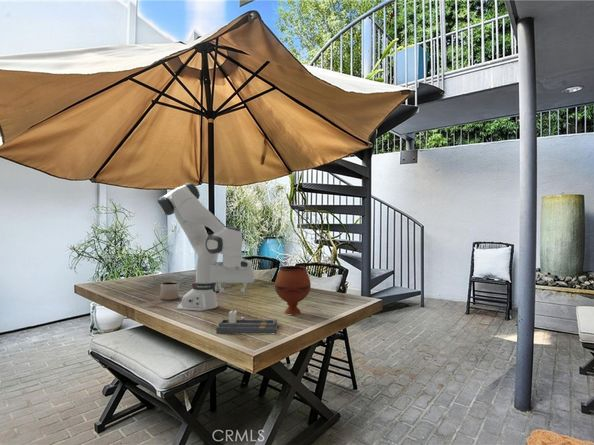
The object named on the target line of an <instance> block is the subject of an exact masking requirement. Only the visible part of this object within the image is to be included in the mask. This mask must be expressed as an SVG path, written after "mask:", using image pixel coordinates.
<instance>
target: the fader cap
mask: <svg viewBox="0 0 594 445" xmlns="http://www.w3.org/2000/svg"><path fill="white" fill-rule="evenodd" d="M228 319H229V323H236V322H237V319H238V310H230V311H229V312H228Z"/></svg>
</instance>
